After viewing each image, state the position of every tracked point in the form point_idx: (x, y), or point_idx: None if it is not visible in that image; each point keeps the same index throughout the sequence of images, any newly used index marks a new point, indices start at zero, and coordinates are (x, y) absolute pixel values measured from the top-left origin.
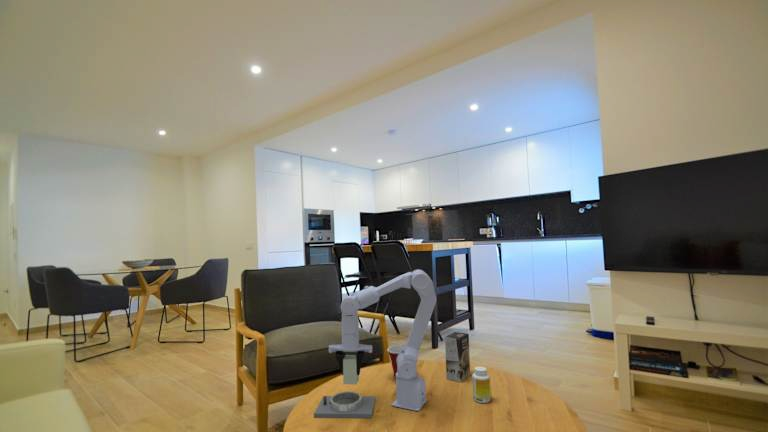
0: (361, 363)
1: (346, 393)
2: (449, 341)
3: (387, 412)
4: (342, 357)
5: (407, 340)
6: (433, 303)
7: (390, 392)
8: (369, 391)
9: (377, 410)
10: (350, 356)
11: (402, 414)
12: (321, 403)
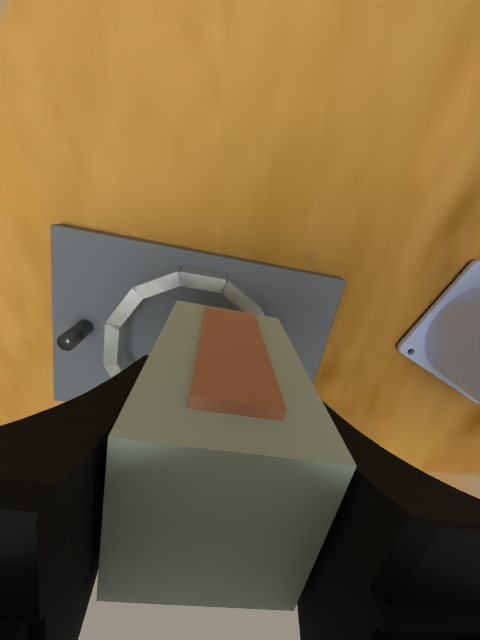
0: (345, 423)
1: (189, 286)
2: None
3: (362, 389)
4: (74, 637)
5: None
6: None
7: (437, 199)
8: (327, 159)
9: (327, 370)
10: (210, 518)
11: (411, 408)
12: (63, 315)
